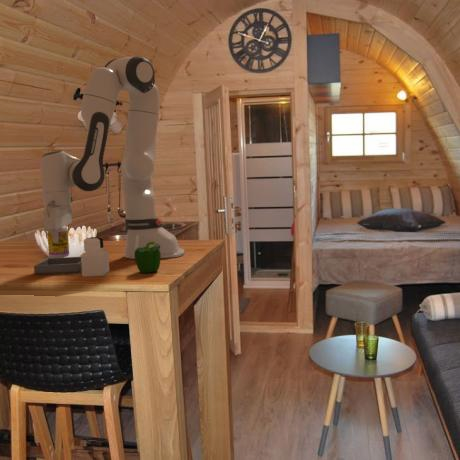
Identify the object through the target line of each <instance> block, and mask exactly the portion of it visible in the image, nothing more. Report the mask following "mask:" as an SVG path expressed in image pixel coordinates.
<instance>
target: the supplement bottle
mask: <svg viewBox="0 0 460 460" xmlns="http://www.w3.org/2000/svg"><path fill="white" fill-rule="evenodd" d="M63 220H64V219H63ZM46 232H47V234H46V235H47V244H48V245H47V247H48V248H47V249H48V257H49V258H61V257H68V256H69V255H70V247H69V246H70V243H69V228H68V226H67V227H66V226H63V227H62V228H60V229H58V236H59V240H60V241H59V242H58V243H53V238H52V235H51V231H46Z"/></svg>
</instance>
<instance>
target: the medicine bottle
mask: <svg viewBox="0 0 460 460" xmlns="http://www.w3.org/2000/svg"><path fill="white" fill-rule="evenodd" d="M83 248H84V253H82V254H81V255H80V257H81V268H82V272H81V277H83V278H85V277H88V278H90V277H94V278H95V277H105V275H107V274H108V273H109V272H110V262H109V251H108V250H104V239H103V238H102V237H100V236H91V237H90V236H89V237H87V238H85V239H84V240H83Z"/></svg>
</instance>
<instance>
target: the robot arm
mask: <svg viewBox="0 0 460 460" xmlns="http://www.w3.org/2000/svg"><path fill="white" fill-rule="evenodd" d="M155 74H156V73H155V69H154V66H153V63H152V62H151V61H150V59H148V58H146V57H143V56H138V55H137V56H136V55H135V56H123V57H120V58H115V59H112V60H110V61H108V62H107V63H106V64H105V65H104V66H101V67H100V66H99V67H96V68H94V69H93V70H92V71H91V74H90V76H89V78H88V80H87V83H86V85H85V88H84V92H83V95H82V100H81V105H80V107H81V108H80V110H81V111H80V116H81V118H82V120H83V121H84V124H85V125H86V129H87V131H86V132H87V134H86V140H85V144H84V149H83V154H82V157H81V159H80V158H78V157H75V156H73V155H72V154H69V153H67V152H65V150H55V151H54V150H53V151H51V152H47V153H44V154H43V156H41V160H40V177H41V179H40V180H41V182H42V190H41V192H42V204H43V206H44V207H45V208H44V210H43V230H44V232H45V231H46V232H47V231H51V235H52V238H53V243H58V242H59V241H60V240H59V236H58V229H60V228H62V227H63V226H66V227H67V228H68V225H70V224H72V222H73V203H74V197H73V195H71V189H70V188H72V187H74V188H76V189H80V190H82V191H85V192H93V191H96V190H97V189H99V188H100V187H102V185H103V183H104V182H105V168H104V155H105V150H106V144H107V140H108V139H107V138H108V133H109V129H110V126H111V122H112V119H113V116H114V112H115V109H116V105H117V102H118V96H119V93H120V92H121V90H123V91H124V90H125V91H127V93H128V96H129V103H128V109H127V119H126V126H125V127H126V129H125V140H124V141H125V143H124V153H123V154H124V156H123V158H122V159H121V164H120V168H121V175H122V177H121V178H122V187H123V188H122V189H123V197H124V207H125V208H124V209H125V210H124V211H125V219H124V230H125V234H126V241H125V242H126V243H125V249H124V256H123V257H124V258H125V259H132V260H135V254H134V253H135V250H136V249H137V248H144V247H146V245H147V243H148V242H151V241H154V242H155V243H154V244H150V245H149V248H151V247H158V248H159V250H160V252H161V259H171V258H179V257H181V256H183V255H185V249H184V248H182V247H179V243H178V240H177V237H176V236H175V235H174V234H173V233H171V232H169V231H168V230H167V229H165V228H164V227H162V226H163V224H162V223H163V221H162V218H159V217H157V215H156V214H157V213H156V201H155V200H156V198H155V197H156V196H155V193H154V192H155V190H154V184H153V177H152V176H153V174H154V172H155V162H156V152H157V151H156V149H157V135H158V134H157V132H158V124H159V123H158V122H159V116H160V91H159V88H158V86H157V85H155V82H156V80H155V76H156V75H155ZM63 219H64V220H63Z"/></svg>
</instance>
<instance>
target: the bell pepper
mask: <svg viewBox="0 0 460 460" xmlns="http://www.w3.org/2000/svg"><path fill="white" fill-rule="evenodd" d="M154 243H155V242H154V241H151V242H148V243H147V245H146V247H144V248H137V249H136V250H135V253H134V254H135V259H134V260H135V264H136V266H137V270H138V271H139V272H140V273H141V274H150V273H155V272H157V271H158V270H159V269H160V266H161V265H160V264H161V260H162V258H161V252H160V250H159V248H158V247H151V248H149V245H150V244H154Z"/></svg>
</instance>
